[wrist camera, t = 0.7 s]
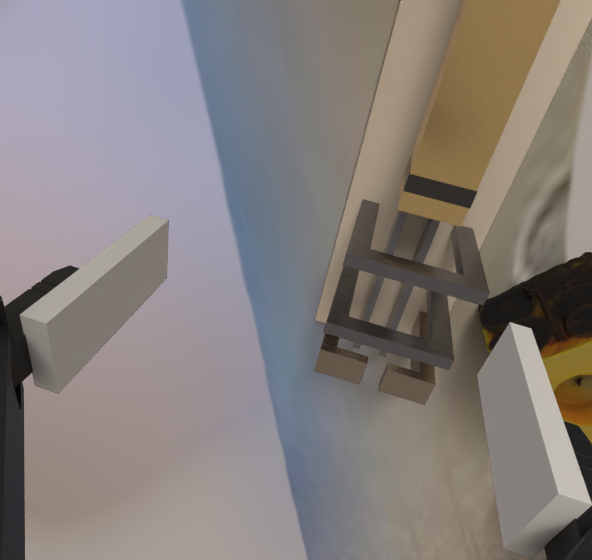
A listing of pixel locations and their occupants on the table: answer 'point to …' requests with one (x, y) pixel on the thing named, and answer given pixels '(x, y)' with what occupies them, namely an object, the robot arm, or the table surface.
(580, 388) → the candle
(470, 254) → the collar
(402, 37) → the long cream board
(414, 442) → the table surface
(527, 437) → the robot arm
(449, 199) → the long golden plank
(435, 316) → the collar
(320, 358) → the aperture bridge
